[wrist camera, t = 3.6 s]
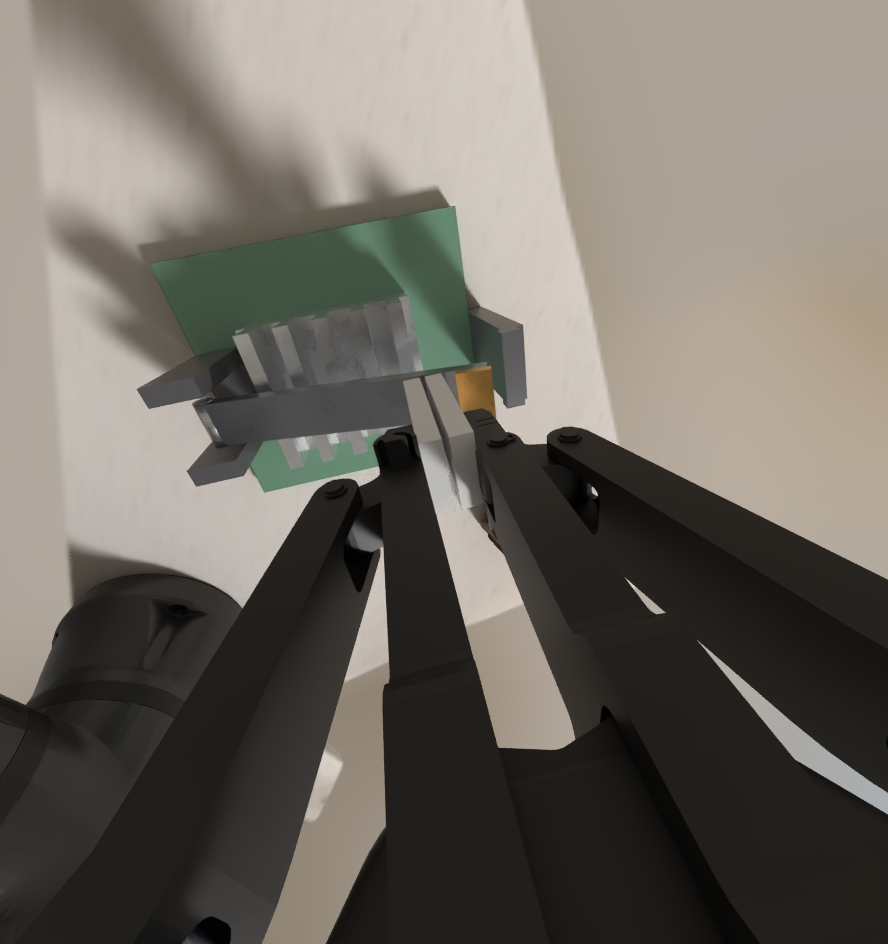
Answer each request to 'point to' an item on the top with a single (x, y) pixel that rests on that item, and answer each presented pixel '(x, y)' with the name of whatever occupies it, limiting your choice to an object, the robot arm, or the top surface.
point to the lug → (500, 353)
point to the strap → (335, 406)
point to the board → (327, 302)
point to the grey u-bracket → (195, 381)
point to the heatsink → (330, 357)
